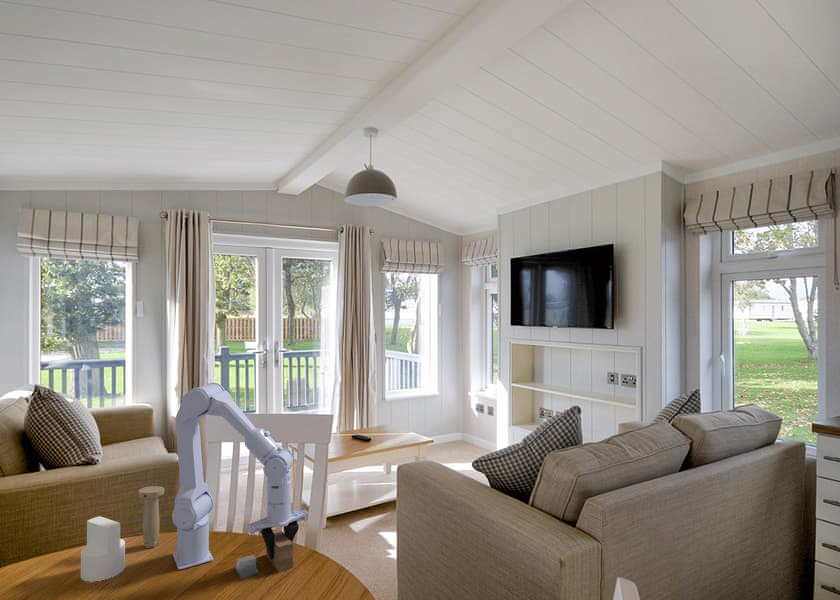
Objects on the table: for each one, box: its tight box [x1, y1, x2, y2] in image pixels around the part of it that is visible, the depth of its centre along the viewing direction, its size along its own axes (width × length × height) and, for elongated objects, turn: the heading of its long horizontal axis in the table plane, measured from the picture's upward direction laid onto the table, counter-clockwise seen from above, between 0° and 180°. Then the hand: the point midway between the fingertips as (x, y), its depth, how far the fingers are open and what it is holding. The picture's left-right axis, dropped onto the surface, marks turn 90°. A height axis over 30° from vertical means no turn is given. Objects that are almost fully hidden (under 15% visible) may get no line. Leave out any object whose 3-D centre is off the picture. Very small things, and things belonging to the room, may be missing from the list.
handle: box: [137, 485, 165, 549], centre depth 132 cm, size 5×6×15 cm
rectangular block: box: [265, 527, 294, 573], centre depth 123 cm, size 10×4×6 cm, turn 34°
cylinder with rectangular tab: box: [80, 516, 126, 583], centre depth 119 cm, size 9×9×12 cm
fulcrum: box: [234, 554, 259, 580], centre depth 119 cm, size 6×4×3 cm, turn 34°
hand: (279, 554), depth 123 cm, fingers closed on rectangular block, 3 cm apart
